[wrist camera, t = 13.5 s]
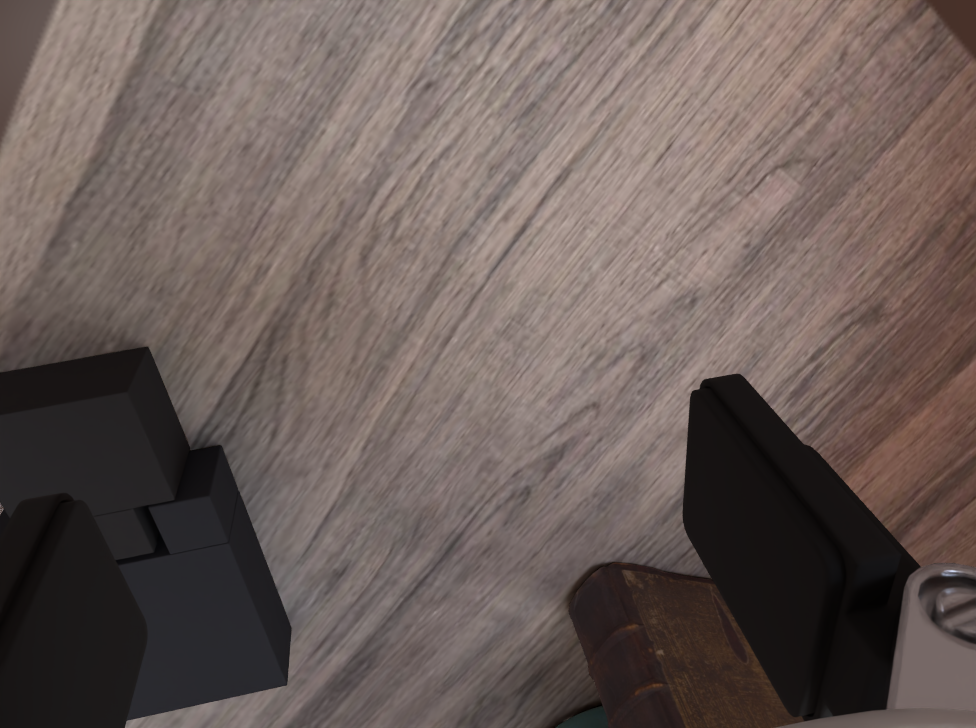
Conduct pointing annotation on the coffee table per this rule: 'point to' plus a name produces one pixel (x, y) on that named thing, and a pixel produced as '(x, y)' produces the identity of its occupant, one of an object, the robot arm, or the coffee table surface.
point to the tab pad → (94, 442)
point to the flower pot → (587, 719)
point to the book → (670, 653)
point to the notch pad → (205, 597)
